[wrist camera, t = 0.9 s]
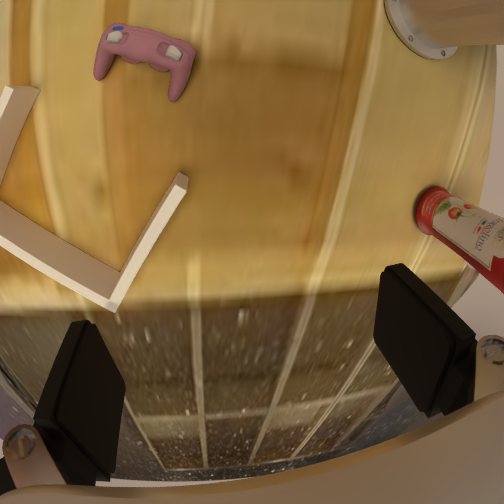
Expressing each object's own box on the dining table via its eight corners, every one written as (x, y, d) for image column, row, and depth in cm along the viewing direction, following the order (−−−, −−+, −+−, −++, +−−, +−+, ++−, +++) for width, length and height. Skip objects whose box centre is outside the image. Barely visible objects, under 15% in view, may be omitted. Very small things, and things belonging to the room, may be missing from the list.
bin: (33, 86, 25) (5, 85, 20) (188, 177, 33) (186, 191, 28) (-12, 201, 29) (-38, 218, 24) (124, 284, 37) (114, 313, 32)
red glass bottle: (432, 172, 37) (610, 265, 12) (454, 205, 40) (604, 302, 15) (400, 211, 39) (569, 337, 14) (425, 242, 42) (567, 362, 17)
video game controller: (193, 73, 30) (206, 35, 23) (177, 107, 29) (187, 72, 23) (110, 50, 27) (107, 9, 20) (90, 82, 26) (82, 44, 20)
